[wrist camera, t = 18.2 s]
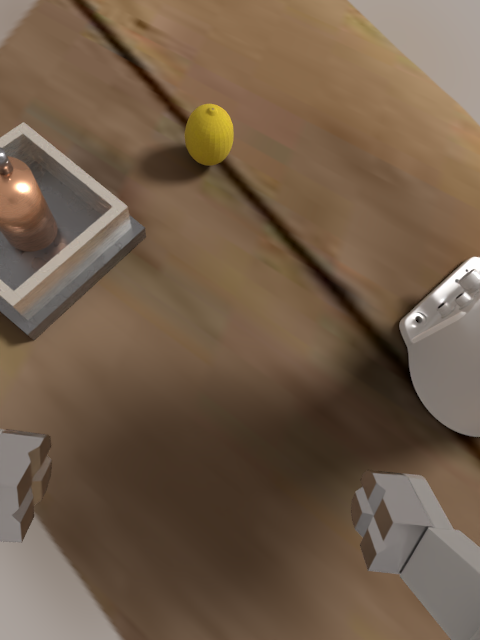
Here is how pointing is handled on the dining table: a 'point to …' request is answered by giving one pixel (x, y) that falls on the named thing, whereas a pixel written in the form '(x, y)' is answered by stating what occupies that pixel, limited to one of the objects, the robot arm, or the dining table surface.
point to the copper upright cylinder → (23, 207)
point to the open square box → (61, 237)
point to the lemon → (209, 134)
